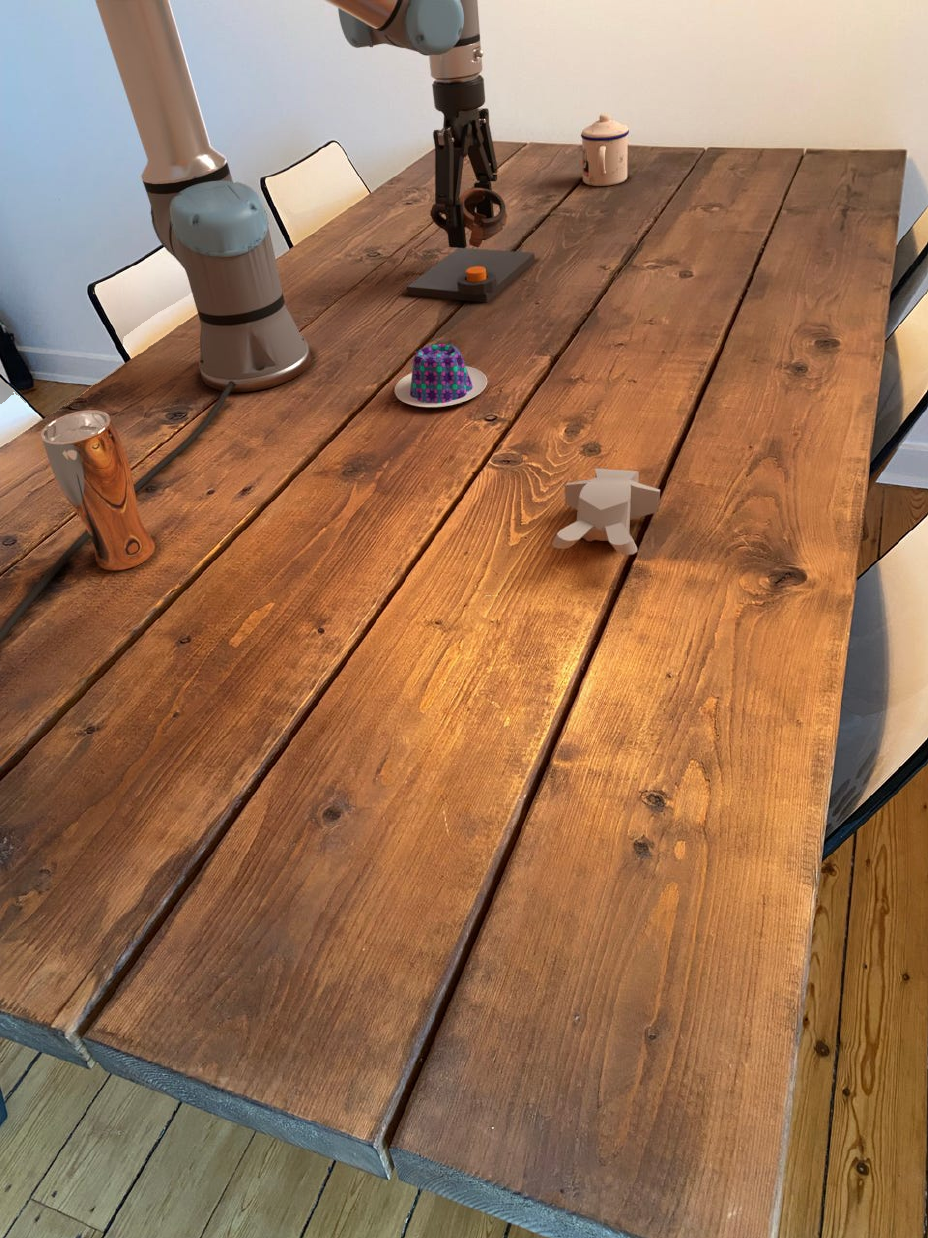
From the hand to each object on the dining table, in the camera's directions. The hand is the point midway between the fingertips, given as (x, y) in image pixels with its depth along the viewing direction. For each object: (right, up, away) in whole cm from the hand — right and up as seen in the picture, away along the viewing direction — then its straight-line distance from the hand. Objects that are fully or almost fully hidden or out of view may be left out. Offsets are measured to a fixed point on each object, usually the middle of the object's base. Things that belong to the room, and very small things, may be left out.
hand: (472, 235), depth 151 cm
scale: (0, -6, +1) cm, 6 cm away
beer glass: (-37, -54, -51) cm, 83 cm away
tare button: (+1, -9, -7) cm, 12 cm away
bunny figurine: (+13, -53, -57) cm, 78 cm away
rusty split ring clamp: (0, -1, 0) cm, 1 cm away
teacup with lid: (+26, +24, +34) cm, 49 cm away
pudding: (-4, -32, -29) cm, 43 cm away
